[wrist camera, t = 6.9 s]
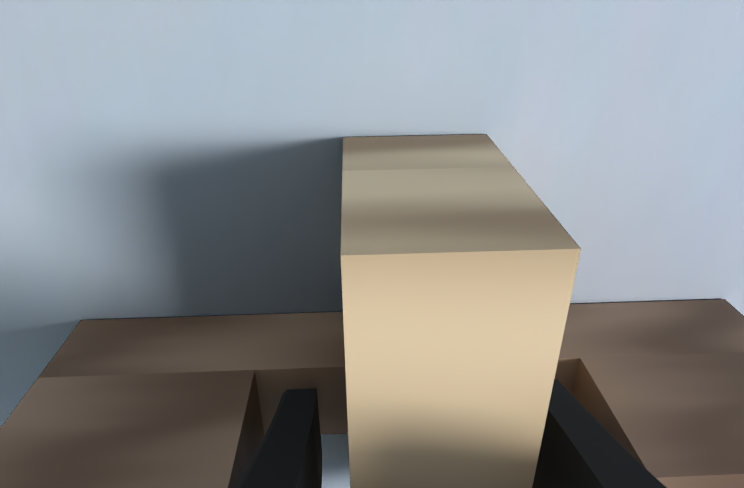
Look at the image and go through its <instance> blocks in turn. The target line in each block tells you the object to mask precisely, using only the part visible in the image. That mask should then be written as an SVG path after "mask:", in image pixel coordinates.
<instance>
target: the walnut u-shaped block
mask: <svg viewBox="0 0 744 488" xmlns="http://www.w3.org/2000/svg"><path fill="white" fill-rule="evenodd" d="M554 379H557V380H558V381H559V382H560V383H561V384H562V385H563V386H564V387H565V388H566V389H567V390H568V391H569V392H570V393H571V394H572V395H573V396H574V397H575V398H576V399H577V401H578V402H579V403H580V404H581V405H582V406H583V407H584V408H585V409H586V410H587V411H588V412H589V413H590V414H591V415H592V416H593V417H594V418H595V419H596V420H597V421H598V422H599V423H600V424H601V425H602V426H603V427H604V428H605V429H606V430H607V431H608V432H609V433H610V434H611V435H612V436H613V437H614V438H615V439H616V440H617V441H618V442H619V443H620V444H621V445H622V446H623V447H624V448H625V449H626V450H627V451H628V452H629V453H630V454H631V455H632V456H633V457H634V458H635V459H636V460H637V461H638V462H640V463H641V464H642V465H643V466H644V467H645V468H646V469H647V470H648V471H649V472H650V473H651V474H652V475H653V476H654V477H656V478H657V479H658V480H659V481H660V482H661V483H662V484H663V485H664V486H666V487H667V488H744V316H743V315H742V314H741V313H740V312H739V311H738V310H736V309H735V308H734V307H733V306H732V305H731V304H730V303H728V302H727V301H726V300H725V299H716V300H685V301H655V302H625V303H594V304H570V305H569V310H568V315H567V319H566V324H565V329H564V334H563V339H562V344H561V349H560V354H559V359H558V363H557V368H556V373H555V378H554ZM310 388H317V398H318V410H319V423H320V434H344V433H348V418H347V395H346V371H345V347H344V324H343V312H320V313H290V314H259V315H229V316H198V317H168V318H137V319H107V320H81V321H80V322H79V323H78V325H77V326H76V327H75V329H74V330H73V331H72V333H71V334H70V335H69V337H68V338H67V339H66V341H65V342H64V343H63V345H62V346H61V347H60V349H59V350H58V351H57V353H56V354H55V355H54V357H53V358H52V359H51V361H50V362H49V364H48V365H47V366H46V368H45V369H44V370H43V372H42V373H41V374H40V376H39V377H38V378H37V380H36V381H35V382H34V384H33V385H32V386H31V388H30V389H29V390H28V392H27V393H26V394H25V396H24V397H23V398H22V400H21V401H20V402H19V404H18V405H17V406H16V408H15V409H14V410H13V412H12V413H11V414H10V416H9V417H8V418H7V420H6V421H5V422H4V424H3V425H2V426H1V428H0V488H237V487H238V485H239V483H240V481H241V480H242V478H243V476H244V474H245V472H246V471H247V469H248V467H249V465H250V463H251V461H252V459H253V458H254V456H255V454H256V452H257V450H258V448H259V446H260V444H261V442H262V440H263V438H264V436H265V434H266V432H267V430H268V428H269V426H270V424H271V421H272V419H273V417H274V415H275V412H276V410H277V407H278V405H279V402H280V399H281V397H282V394H283V393H284V392H285V391H286V390H287V389H310Z"/></svg>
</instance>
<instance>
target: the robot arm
mask: <svg viewBox="0 0 744 488" xmlns="http://www.w3.org/2000/svg"><path fill="white" fill-rule="evenodd" d="M321 484H322V449H321V436H320V423H319V410H318V398H317V388H310V389H287V390H286V391H285V392H284V393H283V394H282V397H281V399H280V402H279V405H278V407H277V410H276V412H275V415H274V417H273V419H272V421H271V424H270V426H269V428H268V430H267V432H266V434H265V436H264V438H263V440H262V442H261V444H260V446H259V448H258V450H257V452H256V454H255V456H254V458H253V459H252V461H251V463H250V465H249V467H248V469H247V471H246V472H245V474H244V476H243V478H242V480H241V481H240V483H239V485H238V487H237V488H321ZM532 488H667V487H666V486H664V485H663V484H662V483H661V482H660V481H659V480H658V479H657V478H656V477H654V476H653V475H652V474H651V473H650V472H649V471H648V470H647V469H646V468H645V467H644V466H643V465H642V464H641V463H640V462H638V461H637V460H636V459H635V458H634V457H633V456H632V455H631V454H630V453H629V452H628V451H627V450H626V449H625V448H624V447H623V446H622V445H621V444H620V443H619V442H618V441H617V440H616V439H615V438H614V437H613V436H612V435H611V434H610V433H609V432H608V431H607V430H606V429H605V428H604V427H603V426H602V425H601V424H600V423H599V422H598V421H597V420H596V419H595V418H594V417H593V416H592V415H591V414H590V413H589V412H588V411H587V410H586V409H585V408H584V407H583V406H582V405H581V404H580V403H579V402H578V401H577V399H576V398H575V397H574V396H573V395H572V394H571V393H570V392H569V391H568V390H567V389H566V388H565V387H564V386H563V385H562V384H561V383H560V382H559V381H558V380H557V379H554V383H553V388H552V393H551V398H550V402H549V407H548V412H547V417H546V422H545V427H544V432H543V437H542V442H541V446H540V451H539V456H538V461H537V466H536V471H535V476H534V481H533V486H532Z"/></svg>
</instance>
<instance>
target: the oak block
mask: <svg viewBox="0 0 744 488" xmlns="http://www.w3.org/2000/svg"><path fill="white" fill-rule="evenodd" d="M580 251H581V248H580V247H579V246H578V245H577V243H576V242H575V241H574V240H573V238H572V237H571V236H570V235H569V234H568V232H567V231H566V230H565V229H564V228H563V226H562V225H561V224H560V223H559V221H558V220H557V219H556V218H555V217H554V215H553V214H552V213H551V212H550V211H549V209H548V208H547V207H546V206H545V204H544V203H543V202H542V201H541V200H540V198H539V197H538V196H537V195H536V194H535V192H534V191H533V190H532V189H531V187H530V186H529V185H528V184H527V183H526V181H525V180H524V179H523V178H522V177H521V175H520V174H519V173H518V172H517V170H516V169H515V168H514V167H513V166H512V164H511V163H510V162H509V161H508V160H507V158H506V157H505V156H504V155H503V153H502V152H501V151H500V150H499V149H498V147H497V146H496V145H495V144H494V143H493V141H492V140H491V139H490V138H489V136H488V135H487V134H473V135H425V136H377V137H343V164H342V213H341V276H342V300H343V324H344V347H345V371H346V395H347V418H348V442H349V465H350V488H532V486H533V481H534V476H535V471H536V466H537V461H538V456H539V451H540V446H541V442H542V437H543V432H544V427H545V422H546V417H547V412H548V407H549V402H550V398H551V393H552V388H553V383H554V378H555V373H556V368H557V363H558V359H559V354H560V349H561V344H562V339H563V334H564V329H565V324H566V319H567V315H568V310H569V305H570V300H571V295H572V290H573V285H574V280H575V275H576V271H577V266H578V261H579V256H580Z"/></svg>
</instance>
